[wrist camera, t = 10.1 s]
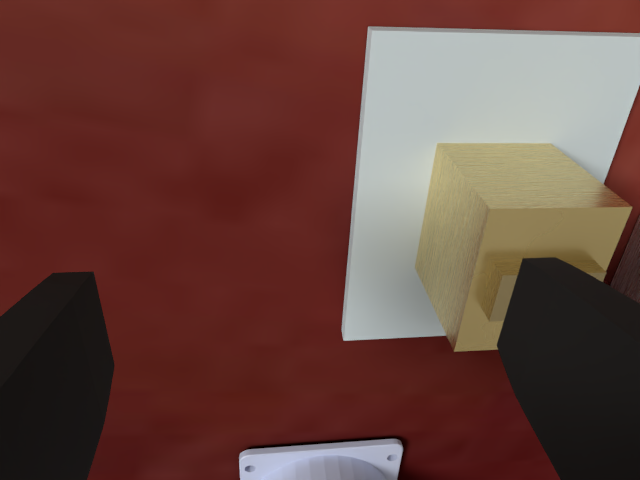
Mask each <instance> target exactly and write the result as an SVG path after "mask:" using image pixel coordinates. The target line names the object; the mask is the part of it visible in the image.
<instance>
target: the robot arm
mask: <svg viewBox="0 0 640 480" xmlns="http://www.w3.org/2000/svg"><path fill="white" fill-rule="evenodd" d="M497 348H498V351H499V353H500V356H501V359H502V362H503V365H504V367H505V370H506V373H507V375H508V378H509V380H510V383H511V385H512V388H513V390H514V393H515V395H516V397H517V399H518V401H519V403H520V405H521V407H522V409H523V411H524V413H525V415H526V417H527V418H528V420H529V422H530V424H531V426H532V428H533V430H534V431H535V433H536V435H537V437H538V439H539V441H540V443H541V444H542V446H543V448H544V450H545V452H546V453H547V455H548V457H549V459H550V461H551V463H552V464H553V466H554V468H555V470H556V472H557V474H558V475H559V477H560V479H561V480H640V304H639V303H638V302H636V301H634V300H633V299H631V298H629V297H627V296H626V295H624V294H622V293H621V292H619V291H617V290H615V289H614V288H612V287H610V286H609V285H607V284H605V283H603V282H602V281H600V280H598V279H596V278H595V277H593V276H591V275H589V274H587V273H586V272H584V271H582V270H580V269H578V268H576V267H574V266H573V265H571V264H569V263H567V262H564V261H562V260H560V259H558V258H556V257H547V258H523V259H522V262H521V265H520V269H519V272H518V275H517V279H516V282H515V285H514V289H513V292H512V295H511V299H510V302H509V305H508V309H507V312H506V315H505V319H504V322H503V325H502V329H501V332H500V335H499V339H498V342H497ZM113 371H114V361H113V356H112V352H111V347H110V343H109V339H108V334H107V330H106V325H105V321H104V316H103V312H102V307H101V303H100V299H99V294H98V290H97V285H96V281H95V276H94V272H68V273H52V274H51V275H50V276H49V277H47V278H46V279H45V280H43V281H42V282H41V283H40V284H38V285H37V286H36V287H35V288H34V289H33V290H31V291H30V292H29V293H28V294H27V295H25V296H24V297H23V298H22V299H21V300H20V301H18V302H17V303H16V304H15V305H14V306H13V307H11V308H10V309H9V310H8V311H7V312H6V313H4V314H3V315H2V316H1V317H0V480H87V477H88V474H89V471H90V468H91V465H92V461H93V458H94V455H95V452H96V448H97V445H98V442H99V439H100V435H101V432H102V429H103V425H104V422H105V416H106V411H107V406H108V401H109V395H110V389H111V383H112V377H113ZM402 453H403V446H402V443H401V441H400V440H398V439H380V440H366V441H353V442H339V443H326V444H312V445H299V446H285V447H271V448H258V449H248V450H245V451H243V452H242V453H241V454H240V456H239V466H240V480H397V478H398V473H399V468H400V463H401V458H402Z"/></svg>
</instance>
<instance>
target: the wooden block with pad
mask: <svg viewBox="0 0 640 480" xmlns="http://www.w3.org/2000/svg"><path fill="white" fill-rule="evenodd" d="M631 210H632V206H631V205H629V204H628V203H627V202H625V201H624V200H623V199H622V198H620V197H619V196H618V195H616V194H615V193H614V192H613V191H611V190H610V189H609V188H607V187H606V186H605V185H604V184H602V183H601V182H600V181H598V180H597V179H596V178H595V177H593V176H592V175H591V174H589V173H588V172H587V171H586V170H584V169H583V168H582V167H580V166H579V165H578V164H577V163H575V162H574V161H573V160H571V159H570V158H569V157H568V156H566V155H565V154H564V153H562V152H561V151H560V150H559V149H557V148H556V147H555V146H553V145H552V144H551V143H437V146H436V151H435V157H434V162H433V168H432V174H431V179H430V185H429V190H428V196H427V201H426V207H425V213H424V218H423V224H422V229H421V235H420V240H419V246H418V252H417V257H416V263H415V269H416V271H417V274H418V276H419V278H420V280H421V282H422V284H423V286H424V288H425V291H426V293H427V295H428V297H429V299H430V301H431V303H432V306H433V308H434V310H435V312H436V314H437V316H438V318H439V321H440V323H441V325H442V327H443V329H444V331H445V333H446V336H447V338H448V340H449V342H450V344H451V346H452V348H453V351H454V352H456V351H477V350H498V348H497V342H498V339H499V335H500V332H501V329H502V325H503V322H504V319H505V315H506V312H507V309H508V305H509V302H510V299H511V295H512V292H513V289H514V285H515V282H516V279H517V275H518V272H519V269H520V265H521V262H522V259H523V258H547V257H556V258H558V259H560V260H562V261H564V262H567V263H569V264H571V265H573V266H574V267H576V268H578V269H580V270H582V271H584V272H586V273H587V274H589V275H591V276H593V277H595V278H596V279H598V280H600V281H602V282H603V280H604V278H605V275H606V273H607V272H606V270H607V268H608V265H609V263H610V260H611V258H612V255H613V253H614V251H615V248H616V246H617V243H618V241H619V239H620V236H621V234H622V231H623V229H624V227H625V224H626V222H627V219H628V217H629V215H630V212H631Z"/></svg>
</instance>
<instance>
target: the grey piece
mask: <svg viewBox="0 0 640 480" xmlns="http://www.w3.org/2000/svg"><path fill="white" fill-rule="evenodd" d="M610 287H612V288H614V289H615V290H617V291H619V292H621V293H622V294H624V295H626V296H627V297H629V298H631V299H633V300H634V301H636V302H638V303H639V304H640V215H639V218H638V220H637V223H636V225H635V227H634V230H633V232H632V235H631V237H630V239H629V242H628V244H627V246H626V249H625V251H624V254H623V256H622V258H621V261H620V263H619V265H618V268H617V270H616V273H615V275H614V277H613V280H612V282H611V285H610Z"/></svg>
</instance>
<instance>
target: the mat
mask: <svg viewBox="0 0 640 480" xmlns="http://www.w3.org/2000/svg"><path fill="white" fill-rule="evenodd" d="M639 85H640V33H606V32H566V31H527V30H488V29H448V28H409V27H369V26H368V34H367V45H366V56H365V68H364V79H363V91H362V102H361V113H360V125H359V136H358V148H357V159H356V171H355V182H354V193H353V205H352V216H351V228H350V239H349V251H348V262H347V273H346V285H345V296H344V308H343V319H342V330H341V331H342V335H343V340H344V341H347V340H367V339H387V338H407V337H427V336H446V333H445V331H444V329H443V327H442V325H441V323H440V321H439V318H438V316H437V314H436V312H435V310H434V308H433V306H432V303H431V301H430V299H429V297H428V295H427V293H426V291H425V288H424V286H423V284H422V282H421V280H420V278H419V276H418V274H417V271H416V269H415V263H416V257H417V252H418V246H419V240H420V235H421V229H422V224H423V218H424V213H425V207H426V201H427V196H428V190H429V185H430V179H431V174H432V168H433V162H434V157H435V151H436V146H437V143H551V144H552V145H553V146H555V147H556V148H557V149H559V150H560V151H561V152H562V153H564V154H565V155H566V156H568V157H569V158H570V159H571V160H573V161H574V162H575V163H577V164H578V165H579V166H580V167H582V168H583V169H584V170H586V171H587V172H588V173H589V174H591V175H592V176H593V177H595V178H596V179H597V180H598V181H600V182H601V183H602V184H604V181H605V179H606V176H607V173H608V170H609V168H610V165H611V162H612V159H613V157H614V154H615V151H616V148H617V146H618V143H619V140H620V137H621V135H622V132H623V129H624V127H625V124H626V121H627V118H628V116H629V113H630V110H631V107H632V105H633V102H634V99H635V96H636V94H637V91H638V88H639Z"/></svg>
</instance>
